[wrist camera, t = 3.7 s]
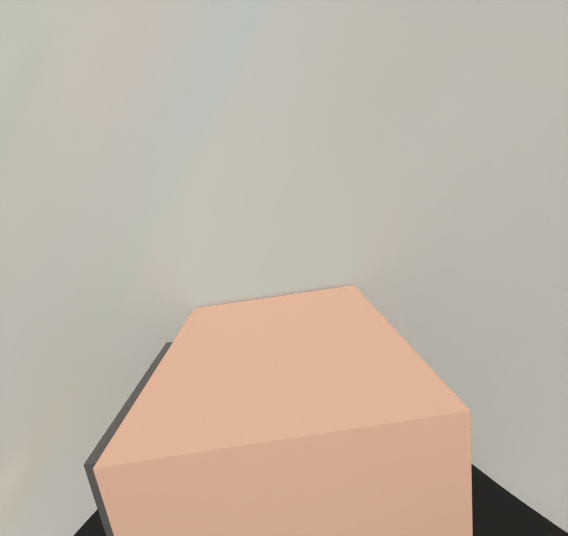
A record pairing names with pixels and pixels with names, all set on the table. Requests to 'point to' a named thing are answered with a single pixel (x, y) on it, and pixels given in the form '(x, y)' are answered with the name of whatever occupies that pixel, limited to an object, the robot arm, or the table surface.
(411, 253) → the table surface
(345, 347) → the peach rectangular block
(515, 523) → the robot arm
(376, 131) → the table surface
